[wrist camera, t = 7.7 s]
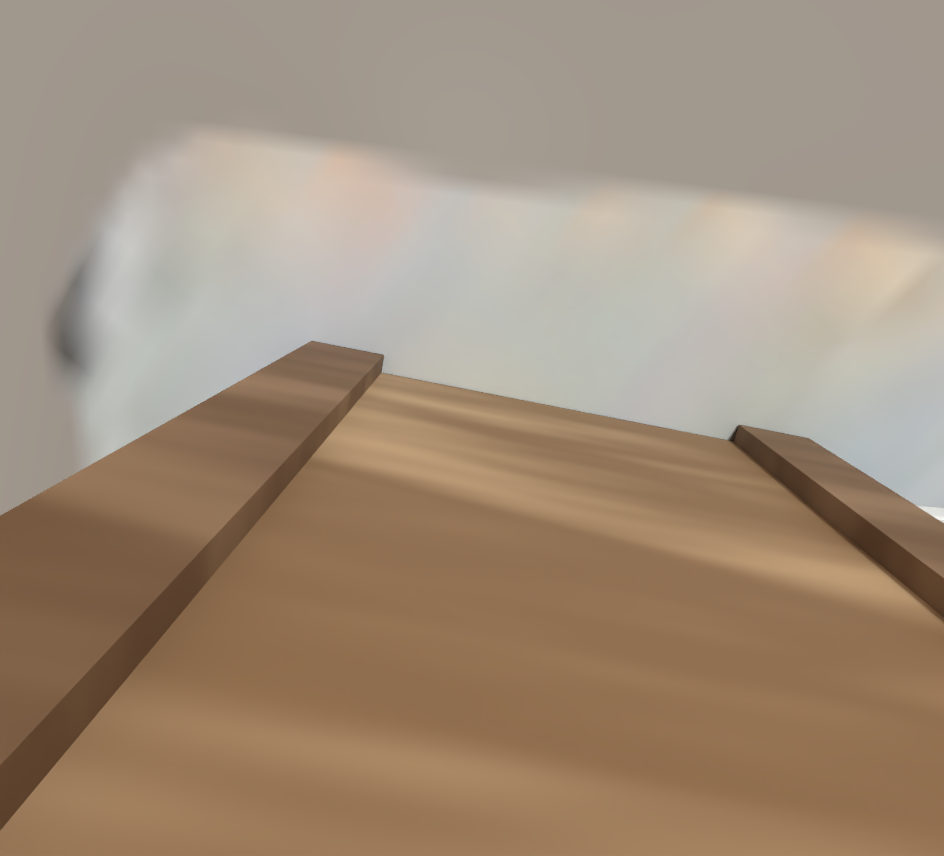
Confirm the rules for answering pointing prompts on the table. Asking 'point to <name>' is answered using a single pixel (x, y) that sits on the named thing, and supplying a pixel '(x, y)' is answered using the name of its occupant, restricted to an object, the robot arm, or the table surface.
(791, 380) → the table surface
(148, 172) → the table surface
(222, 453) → the wooden cleated plank
